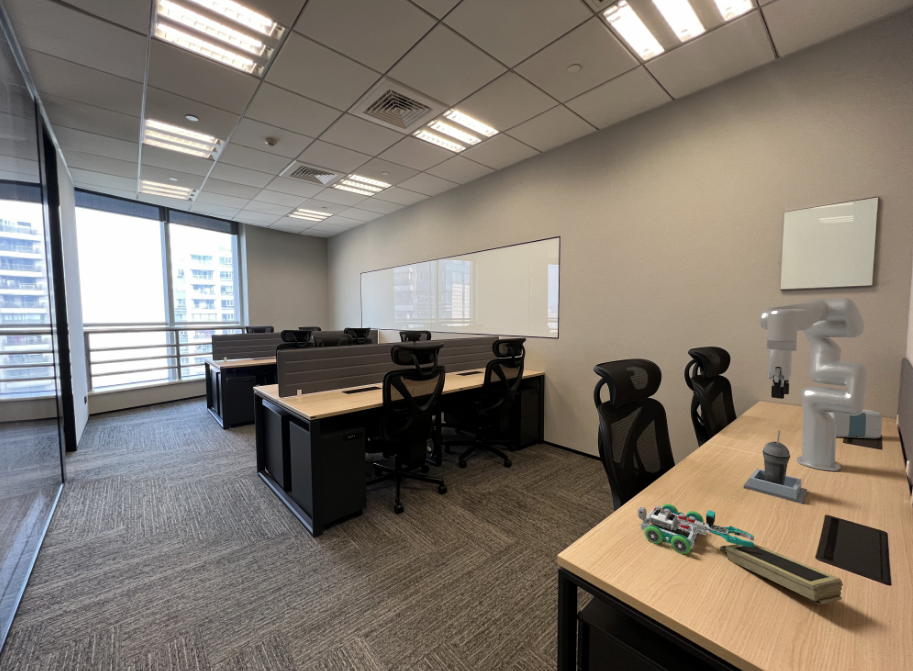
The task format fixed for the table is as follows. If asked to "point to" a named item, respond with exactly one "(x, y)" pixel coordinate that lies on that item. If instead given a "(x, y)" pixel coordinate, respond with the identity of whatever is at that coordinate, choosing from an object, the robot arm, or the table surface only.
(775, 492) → the blue-grey tray
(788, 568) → the box
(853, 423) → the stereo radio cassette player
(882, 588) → the table surface
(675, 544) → the robot kit
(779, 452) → the beverage cup
